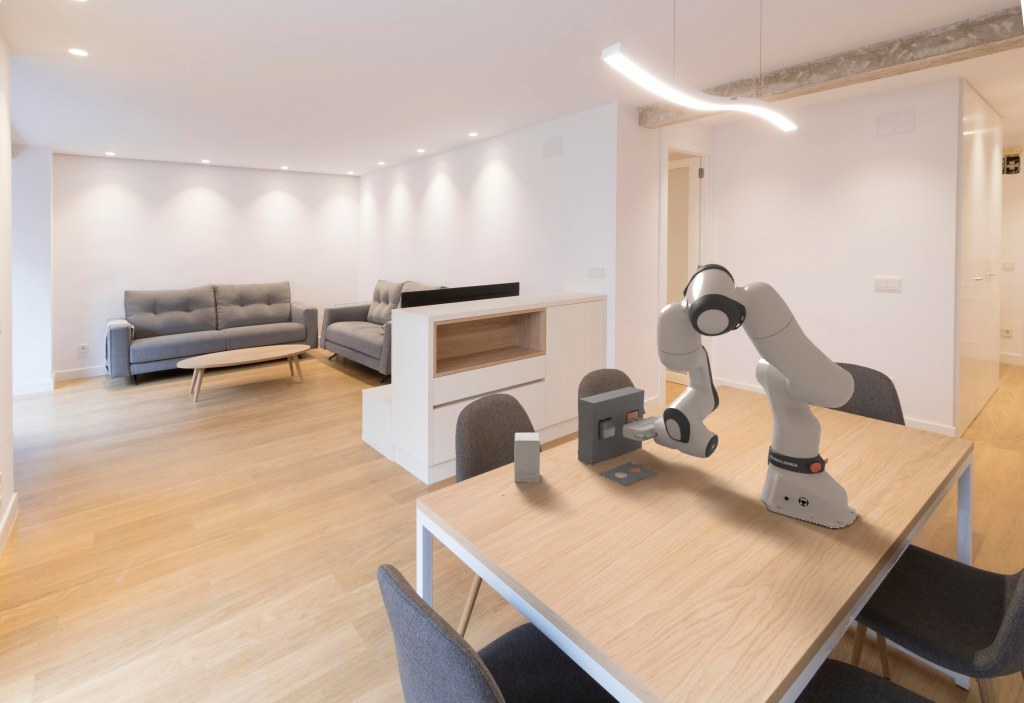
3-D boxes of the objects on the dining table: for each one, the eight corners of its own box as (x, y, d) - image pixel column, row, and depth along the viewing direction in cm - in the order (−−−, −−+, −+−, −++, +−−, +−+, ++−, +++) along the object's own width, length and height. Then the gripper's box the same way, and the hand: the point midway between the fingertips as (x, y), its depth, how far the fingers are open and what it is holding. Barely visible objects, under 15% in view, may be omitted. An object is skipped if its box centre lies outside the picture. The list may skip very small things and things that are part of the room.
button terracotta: (637, 425, 180) (638, 411, 179) (627, 428, 177) (627, 413, 176) (630, 423, 183) (630, 408, 182) (620, 426, 180) (620, 411, 179)
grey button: (614, 435, 171) (615, 420, 170) (603, 439, 168) (604, 423, 167) (607, 432, 173) (607, 417, 172) (596, 436, 170) (596, 420, 169)
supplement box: (539, 482, 158) (540, 440, 155) (514, 482, 158) (514, 440, 155) (539, 472, 165) (539, 432, 162) (514, 471, 165) (514, 431, 162)
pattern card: (656, 473, 164) (656, 471, 164) (625, 486, 155) (625, 484, 155) (630, 462, 171) (630, 461, 171) (599, 474, 163) (599, 472, 163)
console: (641, 447, 184) (644, 390, 180) (591, 465, 169) (593, 403, 165) (627, 442, 188) (630, 386, 185) (577, 459, 174) (579, 398, 170)
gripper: (643, 449, 161) (608, 436, 172) (685, 434, 174) (649, 423, 184) (644, 429, 160) (609, 417, 171) (686, 415, 172) (650, 405, 183)
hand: (630, 420), depth 178 cm, fingers closed, pressing on button terracotta
